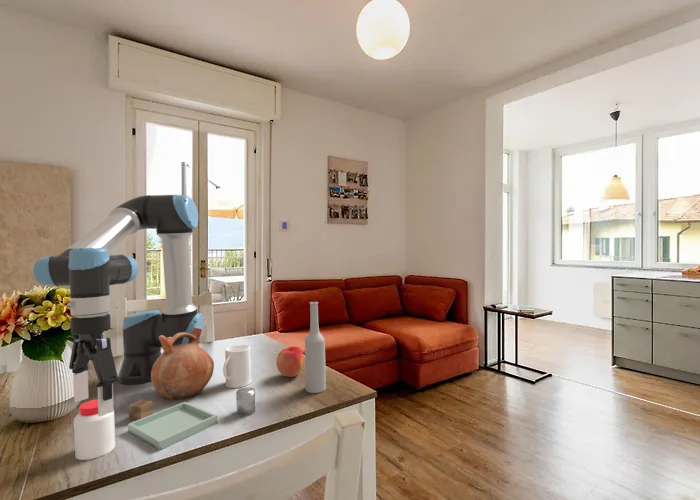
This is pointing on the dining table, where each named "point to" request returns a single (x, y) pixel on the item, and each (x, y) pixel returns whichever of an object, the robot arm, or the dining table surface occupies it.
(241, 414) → the grey tin
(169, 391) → the jug
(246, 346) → the mug
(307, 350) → the bottle
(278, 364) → the apple
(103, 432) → the pill bottle
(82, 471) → the dining table surface
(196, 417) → the tray
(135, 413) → the walnut block
